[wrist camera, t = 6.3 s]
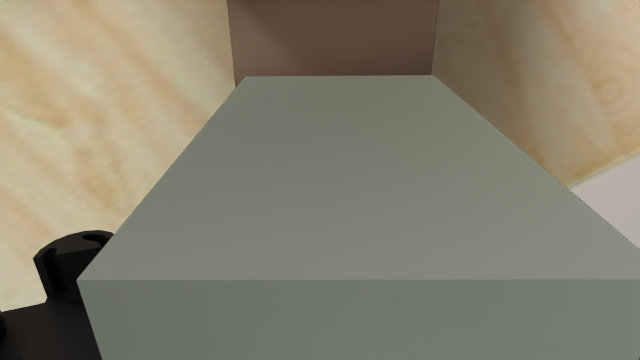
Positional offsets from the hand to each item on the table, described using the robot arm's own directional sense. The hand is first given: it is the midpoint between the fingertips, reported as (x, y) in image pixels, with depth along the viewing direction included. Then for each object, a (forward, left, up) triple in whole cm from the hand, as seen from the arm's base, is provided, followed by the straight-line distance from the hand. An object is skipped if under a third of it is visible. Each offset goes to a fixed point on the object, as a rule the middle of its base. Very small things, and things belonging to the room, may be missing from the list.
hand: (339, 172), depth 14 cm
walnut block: (0, 0, -15) cm, 15 cm away
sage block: (0, 0, -1) cm, 1 cm away
